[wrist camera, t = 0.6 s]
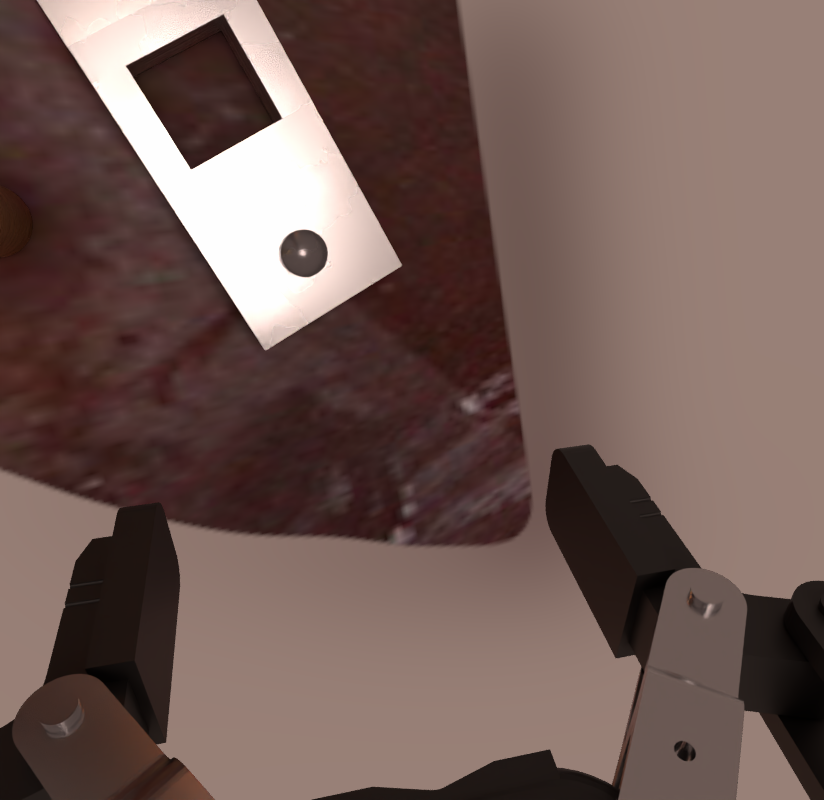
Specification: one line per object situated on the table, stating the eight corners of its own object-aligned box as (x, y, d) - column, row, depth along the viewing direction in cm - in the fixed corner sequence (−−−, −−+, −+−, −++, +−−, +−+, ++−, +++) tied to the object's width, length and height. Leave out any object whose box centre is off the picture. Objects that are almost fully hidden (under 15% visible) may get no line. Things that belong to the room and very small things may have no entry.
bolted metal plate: (-32, -104, 29) (-55, -143, 26) (140, -184, 30) (135, -229, 27) (260, 344, 36) (266, 352, 33) (389, 264, 37) (405, 265, 34)
